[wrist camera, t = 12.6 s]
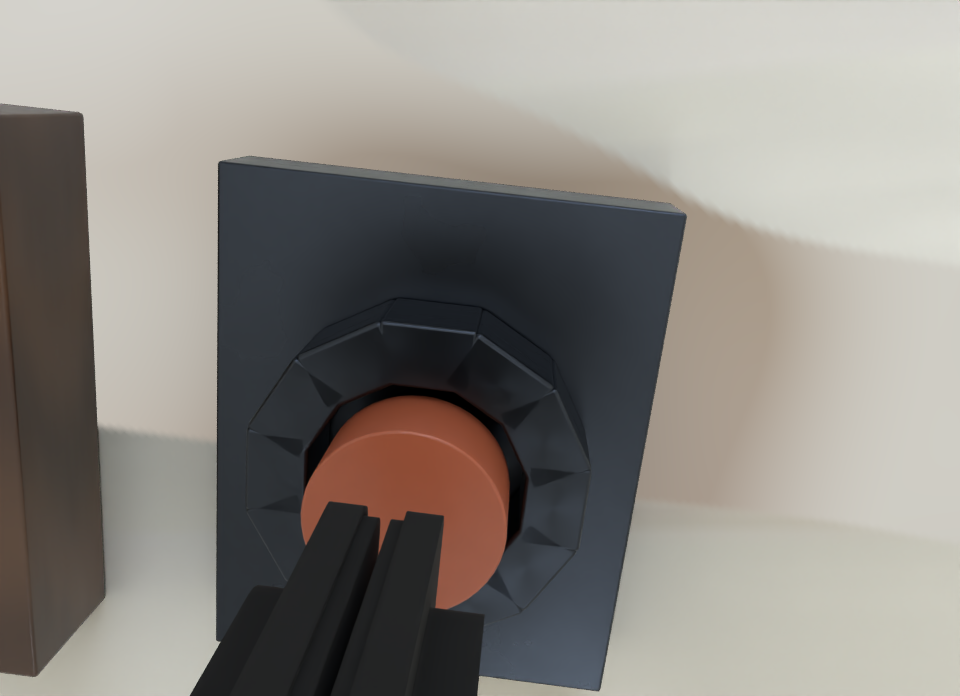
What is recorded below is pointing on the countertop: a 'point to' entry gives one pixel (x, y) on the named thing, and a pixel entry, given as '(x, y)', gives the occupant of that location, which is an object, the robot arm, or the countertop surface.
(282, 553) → the button block
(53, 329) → the panel
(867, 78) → the countertop surface
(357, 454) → the button
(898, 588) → the countertop surface
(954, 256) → the countertop surface
